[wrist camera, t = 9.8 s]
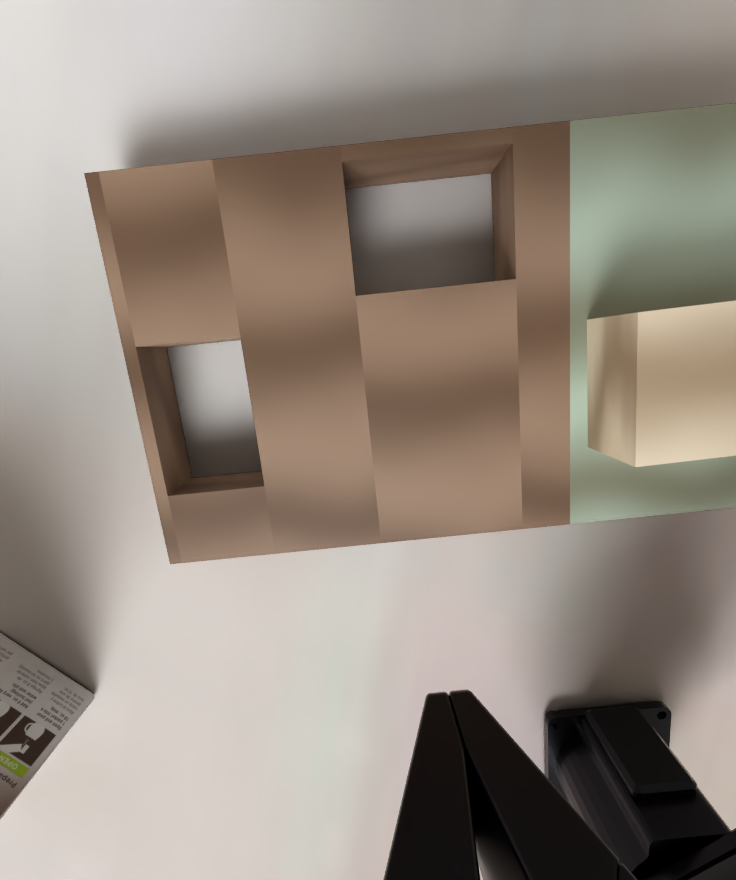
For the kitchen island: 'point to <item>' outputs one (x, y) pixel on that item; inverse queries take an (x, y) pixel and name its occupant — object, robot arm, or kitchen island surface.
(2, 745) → the coffee box
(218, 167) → the board
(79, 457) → the kitchen island surface
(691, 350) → the block
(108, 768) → the kitchen island surface
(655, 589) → the kitchen island surface
